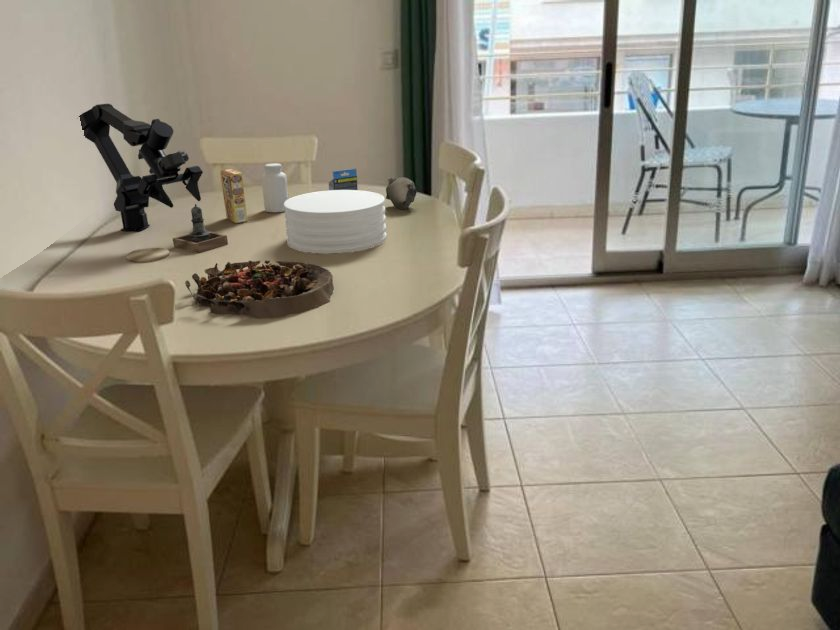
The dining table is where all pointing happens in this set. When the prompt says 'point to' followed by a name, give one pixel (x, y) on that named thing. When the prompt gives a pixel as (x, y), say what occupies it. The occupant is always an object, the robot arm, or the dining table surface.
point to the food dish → (264, 289)
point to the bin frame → (211, 243)
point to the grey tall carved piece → (198, 226)
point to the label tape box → (344, 180)
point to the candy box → (234, 195)
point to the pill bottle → (274, 188)
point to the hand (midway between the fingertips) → (186, 203)
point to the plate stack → (335, 221)
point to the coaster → (147, 255)
